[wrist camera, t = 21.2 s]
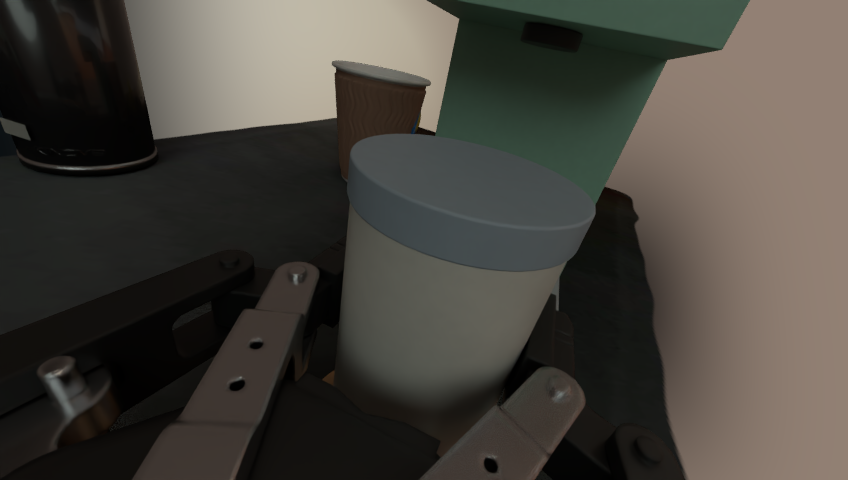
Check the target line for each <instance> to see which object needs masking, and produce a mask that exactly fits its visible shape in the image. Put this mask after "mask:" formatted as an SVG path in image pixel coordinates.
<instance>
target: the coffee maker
mask: <svg viewBox="0 0 848 480" xmlns="http://www.w3.org/2000/svg"><path fill="white" fill-rule="evenodd" d="M427 1H429V2H431V3H432V4H434V5H436V6H438V7H440V8H442V9H443V10H445V11H447V12H449V13H450V14H452V15H454V16H456V17H457V18H459V19H462V20H467V21H472V22H477V23H483V24H488V25H493V26H498V27H503V28H508V29H513V30H518V31H523V32H522V35H521V39H520V40H521V41H522V42H524V43H527V44H531V45H535V46H539V47H543V48H548V49H552V50H558V51H564V52H571V53H575V52H577V51H578V49H579V46H580V43H583V44H588V45H593V46H598V47H603V48H608V49H613V50H619V51H624V52H629V53H634V54H639V55H644V56H649V57H654V58H659V59H664V60H670V59H675V58H680V57H686V56H691V55H696V54H702V53H707V52H712V51H718V50H722V49H723V47H724V45H725V43H726V42H727V40H728V38H729V36H730V35H731V33H732V31H733V29H734V28H735V26H736V24H737V22H738V21H739V19H740V17H741V15H742V13H743V12H744V10H745V8H746V6H747V5H748V3H749V1H750V0H427ZM551 293H552V294H555V295H556V310H558V303H559V278H558V280H557V282H556V284H555V286H554V288H553V290H552V292H551Z"/></svg>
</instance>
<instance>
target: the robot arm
mask: <svg viewBox="0 0 848 480" xmlns="http://www.w3.org/2000/svg"><path fill="white" fill-rule="evenodd" d="M0 110H1V113H2V115H3V118H0V121H1V123H2V126H3V128H4V130H5V132H6V133H9V134H11V136H12V138H13V141H14V143H15V145H16V148H17V155H18V157H19V159H20V162H21V163H22V164H23V165H24V166H26V167H28V168H31V169H34V170H37V171H41V172H47V173H54V174H64V175H102V174H113V173H121V172H126V171H132V170H136V169H140V168H143V167H146V166H148V165H150V164H152V163H154V162H155V161H156V160H157V159H158V151H157V147H156V146H155V144H154V139H153V134H152V130H151V125H150V120H149V114H148V110H147V105H146V101H145V96H144V91H143V87H142V82H141V77H140V73H139V68H138V63H137V60H136V54H135V50H134V45H133V41H132V36H131V32H130V26H129V22H128V17H127V12H126V8H125V3H124V0H0ZM346 240H347V236H345V237H343V238H342V239H340V240H339V241H338V242H337V243H335V244H333V245H332V246H331V247H330V248H328V249H326V250H325V251H323V252H322V253H321V254H319V255H318V256H316V257H315V258H314V259H312V260H311V261H309V262H308V263H306V262H290V263H286V264H284V265H282V266H280V267H279V268H278V269H277V270H269V269H263V268H257V267H254V259H253V257H252V255H250V254H249V253H247V252H244V251H240V250H226V251H221V252H218V253H215V254H212V255H210V256H207V257H204V258H202V259H199V260H197V261H194V262H191V263H189V264H186V265H183V266H181V267H178V268H176V269H173V270H170V271H168V272H165V273H162V274H160V275H157V276H155V277H152V278H149V279H147V280H144V281H141V282H139V283H136V284H134V285H131V286H128V287H126V288H123V289H120V290H118V291H115V292H113V293H110V294H107V295H105V296H102V297H99V298H97V299H94V300H92V301H89V302H86V303H84V304H81V305H78V306H76V307H73V308H71V309H68V310H65V311H63V312H60V313H57V314H55V315H52V316H50V317H47V318H44V319H42V320H39V321H36V322H34V323H31V324H29V325H26V326H23V327H21V328H18V329H15V330H13V331H10V332H8V333H5V334H2V335H0V480H535V478H536V477H537V475H538V474H539V472H540V471H541V469H542V470H543V471H544V472H545V473H546V474H547V475H548V476H550V477H551V478H552V479H553V480H685V479H684V476H683V474H682V472H681V470H680V467H679V465H678V463H677V461H676V459H675V457H674V455H673V453H672V452H671V450H670V449H669V448H668V447H667V445H666V444H665V443H664V442H663V441H662V440H661V439H660V438H659V437H658V436H656V435H655V434H654V433H652V432H651V431H649V430H648V429H646V428H644V427H642V426H640V425H637V424H634V423H623V424H621V425H620V426H618V427H617V428H616V427H615V426H613V425H612V424H611V423H609V422H608V421H606V420H605V419H604V418H602V417H601V416H599V415H598V414H597V413H596V412H594V411H593V410H592V409H591V408H590V407H589V406H588V405H587V404H586V403H585V396H584V393H583V390H582V389H581V387H580V385H579V384H578V383H577V382H576V381H575V365H574V347H573V346H574V339H573V324H572V323H571V321H570V319H569V317H568V315H567V314H566V313H563V312H560V311H558V310H556V295H555V294H552V293H551V294H550V296H549V298H548V300H547V302H546V304H545V306H544V308H543V310H542V312H541V314H540V316H539V318H538V320H537V322H536V324H535V326H534V328H533V330H532V332H531V334H530V336H529V338H528V340H527V342H526V344H525V347H524V349H523V351H522V353H521V355H520V357H519V359H518V361H517V363H516V365H515V367H514V369H513V371H512V373H511V375H510V377H509V379H508V381H507V383H506V385H505V390H504V395H503V400H502V405H501V406H498V405H495V406H493V407H492V408H491V409H490V410H489V411H488V412H487V413H486V414H485V415H484V416H483V417H482V418H481V419H480V420H479V421H478V422H477V423H476V424H475V425H474V426H473V427H472V428H471V429H470V430H469V431H468V432H467V433H466V434H465V435H464V436H463V437H462V438H461V439H459V440H458V441H457V442H456V443H455V444H454V445H453V446H452V447H451V448H450V449H449V450H448V451H447V452H446V453H445V454H444V455H443V456H442V457H440V456H439V455H438V454H437V450H438V447H439V445H440V442H441V441H440V440H438V439H436V438H434V437H432V436H430V435H428V434H426V433H424V432H422V431H420V430H419V429H417V428H415V427H413V426H411V425H409V424H407V423H405V422H401V421H396V420H392V419H387V418H383V417H379V416H374V415H370V414H366V413H364V412H363V411H361V410H360V409H359V408H358V407H357V406H356V405H355V404H354V403H353V402H352V401H351V400H350V399H348V398H347V397H346V396H345V395H344V394H343V393H342V392H341V391H340V390H339V389H338V388H337V387H335V386H333V385H331V384H329V383H327V382H325V381H323V380H321V379H319V378H317V377H316V376H314V375H312V374H310V373H308V372H306V370H307V366H308V363H309V360H310V356H311V353H312V349H313V346H314V342H315V339H316V335H317V328H318V327H319V326H320V325H321V324H322V323H323V324H326V325H328V326H330V327H332V328H333V327H334V326H335V325H336V324H337V323H338V322H339V317H340V306H341V295H342V284H343V273H344V262H345V251H346ZM209 301H211V305H212V311H210V312H208V313H206V314H204V315H202V316H200V317H198V318H196V319H194V320H192V321H190V322H188V323H186V324H184V325H182V326H180V327H179V328H177V329H175V330H173V331H172V326H173V324H174V322H175V321H176V319H177V318H179V317H180V316H181V315H183V314H185V313H187V312H189V311H191V310H193V309H195V308H197V307H199V306H201V305H203V304H205V303H207V302H209ZM216 354H217V355H216ZM214 355H216V356H215V358H214V360H213V361H212V363H211V365H210V366H209V368H208V370H207V371H206V373H205V375H204V376H203V378H202V380H201V381H200V383H199V385H198V387H197V388H196V390H195V392H194V393H193V395H192V397H191V398H190V400H189V402H188V403H187V405H186V407H183V408H180V409H177V410H174V411H171V412H168V413H165V414H162V415H159V416H156V417H153V418H150V419H147V420H144V421H141V422H138V423H135V424H132V425H129V426H126V427H123V428H120V429H117V430H114V431H111V432H110V429H109V428H110V427H111V426H112V425H113V424H114V423H115V422H116V420H117V419H118V418H119V416H120V414H122V413H123V412H125V411H127V410H128V409H130V408H131V407H133V406H135V405H136V404H138V403H139V402H141V401H143V400H144V399H146V398H147V397H149V396H150V395H152V394H154V393H155V392H157V391H158V390H160V389H162V388H163V387H165V386H166V385H168V384H170V383H171V382H173V381H174V380H176V379H178V378H179V377H181V376H182V375H184V374H186V373H187V372H189V371H190V370H192V369H194V368H195V367H197V366H198V365H200V364H202V363H203V362H205V361H206V360H208V359H210V358H211V357H213V356H214Z"/></svg>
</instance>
